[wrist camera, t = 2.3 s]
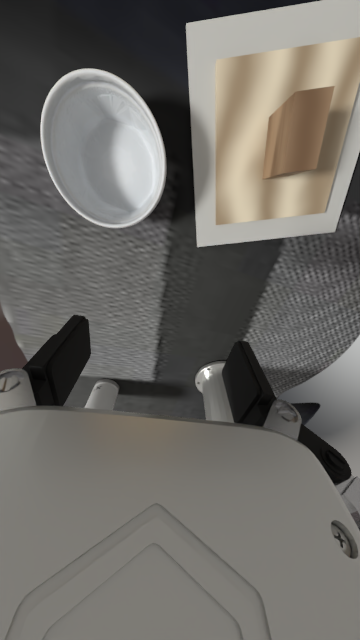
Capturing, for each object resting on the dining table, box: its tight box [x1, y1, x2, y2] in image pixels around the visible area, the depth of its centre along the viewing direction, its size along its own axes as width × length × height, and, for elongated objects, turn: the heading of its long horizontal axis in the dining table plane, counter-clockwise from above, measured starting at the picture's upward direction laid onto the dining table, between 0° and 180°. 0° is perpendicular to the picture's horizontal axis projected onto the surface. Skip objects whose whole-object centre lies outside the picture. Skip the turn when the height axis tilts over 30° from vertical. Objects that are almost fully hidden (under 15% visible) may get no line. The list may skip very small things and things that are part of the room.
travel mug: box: [85, 379, 119, 410], centre depth 41 cm, size 6×7×20 cm
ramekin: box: [40, 68, 167, 228], centre depth 23 cm, size 13×13×7 cm
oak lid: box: [215, 37, 360, 225], centre depth 22 cm, size 16×16×7 cm
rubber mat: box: [186, 0, 360, 247], centre depth 25 cm, size 22×22×1 cm
